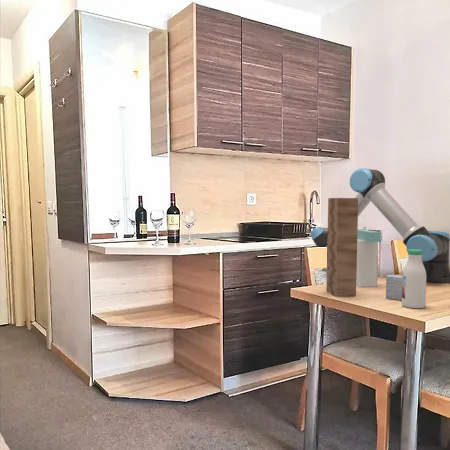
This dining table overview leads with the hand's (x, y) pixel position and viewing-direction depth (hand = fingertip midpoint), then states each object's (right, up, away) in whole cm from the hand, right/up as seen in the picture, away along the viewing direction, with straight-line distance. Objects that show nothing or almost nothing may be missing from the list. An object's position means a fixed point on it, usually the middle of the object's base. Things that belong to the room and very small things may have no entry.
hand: (353, 228), depth 202 cm
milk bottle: (+7, -27, -49) cm, 57 cm away
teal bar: (+2, -5, -10) cm, 11 cm away
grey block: (+2, -25, -9) cm, 27 cm away
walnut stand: (-14, -26, -29) cm, 41 cm away
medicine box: (+6, -27, -38) cm, 47 cm away
